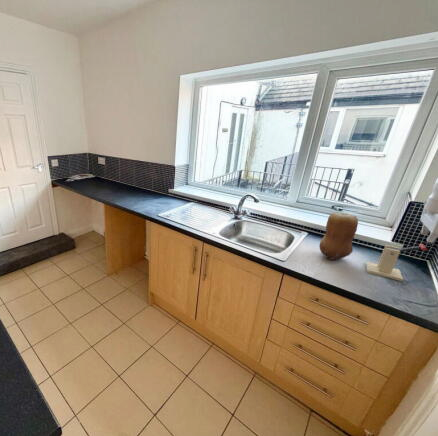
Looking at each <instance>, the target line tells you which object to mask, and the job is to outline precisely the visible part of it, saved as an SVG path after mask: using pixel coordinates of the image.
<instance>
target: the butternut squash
mask: <svg viewBox="0 0 438 436" xmlns="http://www.w3.org/2000/svg"><path fill="white" fill-rule="evenodd" d="M326 221H327V222H326V225H325V235H324V236H323V237H322V238H321V240H320V242H319V250H320V253H321V254H322V256H325V257H326V258H327V259H329V260H333V261H338V260H341V259H344V258H346V257H348V256H350V255H351V254H352V253H353V250H354V249H353V240H354V238H355V235H356V233H357V230H358V224H359V220H358V217H357V215H355V214H352V213H348V212H332V213H331V214H330V215H329V216H328V218H327V220H326Z"/></svg>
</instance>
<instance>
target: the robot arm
mask: <svg viewBox="0 0 438 436" xmlns="http://www.w3.org/2000/svg"><path fill="white" fill-rule="evenodd" d="M420 222H421V223H422V226H421V227H422V228H421V232H420V234H421V235H422V236H427V238H426V242H427V243H431V244H433V243H434V242H435V240H436V239H437V238H438V177H437V178H436V180H435V182H434V184H433V187H432V193H431V194H430V195H429V196H428V198H427V200H425V201H424V202H423V209H422V212H421V216H420ZM429 232H430V233H429Z"/></svg>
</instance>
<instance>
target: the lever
mask: <svg viewBox="0 0 438 436" xmlns="http://www.w3.org/2000/svg"><path fill="white" fill-rule="evenodd" d="M390 249H394V250H399V251H400V253H402V252H409V251H417V250H421V251H422V252H425V251H427V247H426V246H425V244H424V243H419V244H418V246H411V247H404V248H399V249H395V248H390Z"/></svg>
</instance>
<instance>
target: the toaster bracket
mask: <svg viewBox="0 0 438 436" xmlns="http://www.w3.org/2000/svg"><path fill="white" fill-rule="evenodd" d="M390 248H395V249H400V248H399V247H398V246H393V245H389V244H385V245H384V248H383V250H382V253H381V255H380V257H379V261H378V262H377V263H373V262H369V261H366V262H365V266H366V267H365V268H366V272H367V273H369V274H372V275H377V276H379V277H380V276H381V277H384V278H388V279H391V280H395V281H399V282H403V281H404V277H403V275H402V272H401V271H400V269H398V268H395V265H396V263H397V260H398V258H399V256H400V255H401V254H400V253H401V252H400V251H399V250H394V249H390Z"/></svg>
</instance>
